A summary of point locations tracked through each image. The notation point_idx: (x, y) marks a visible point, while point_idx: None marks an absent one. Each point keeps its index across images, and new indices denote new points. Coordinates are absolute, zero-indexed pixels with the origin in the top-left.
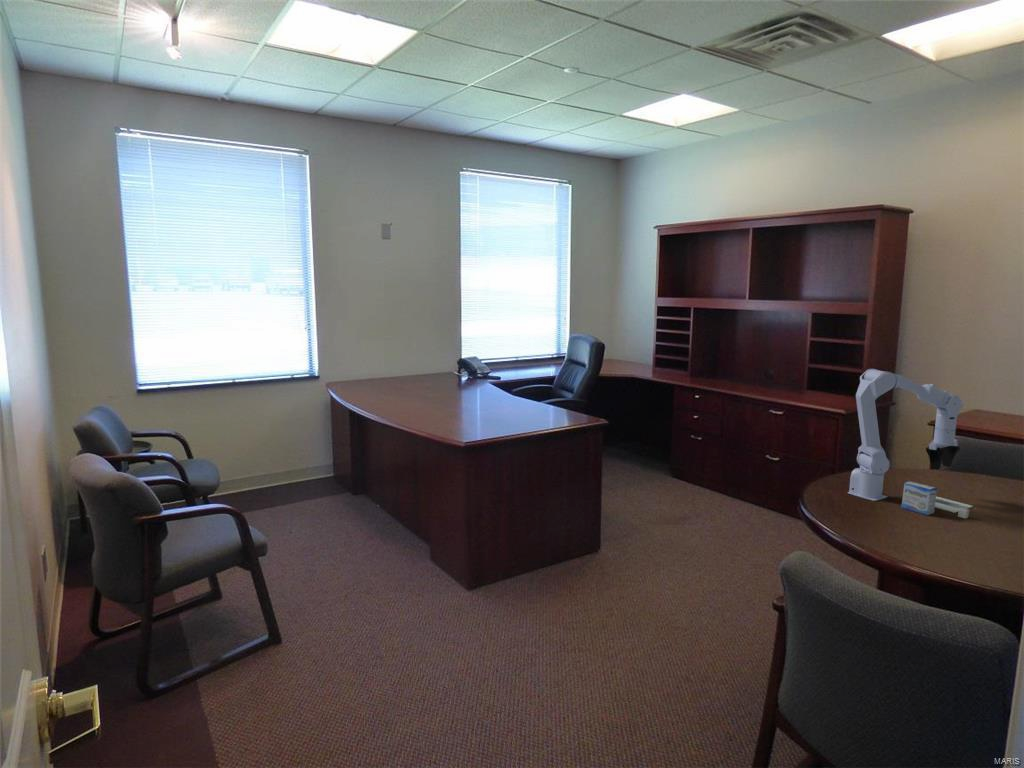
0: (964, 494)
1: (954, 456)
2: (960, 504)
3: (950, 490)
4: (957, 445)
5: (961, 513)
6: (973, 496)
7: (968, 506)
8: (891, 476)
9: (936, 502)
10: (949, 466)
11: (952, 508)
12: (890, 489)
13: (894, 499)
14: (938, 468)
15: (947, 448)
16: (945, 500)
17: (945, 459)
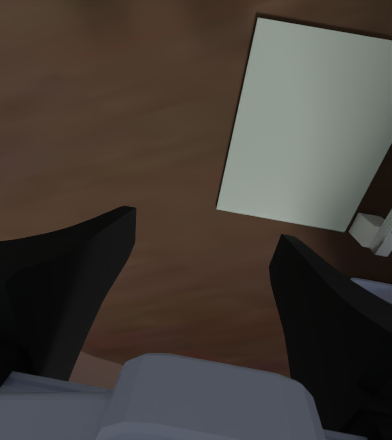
0: (83, 112)
1: (66, 230)
2: (275, 71)
3: (80, 166)
4: (175, 360)
5: None
6: (77, 75)
7: (284, 31)
8: (98, 315)
9: (316, 153)
10: (135, 208)
11: (375, 77)
12: (243, 290)
13: (361, 259)
14: (299, 240)
15: (54, 343)
16: (256, 137)
17: (116, 260)
